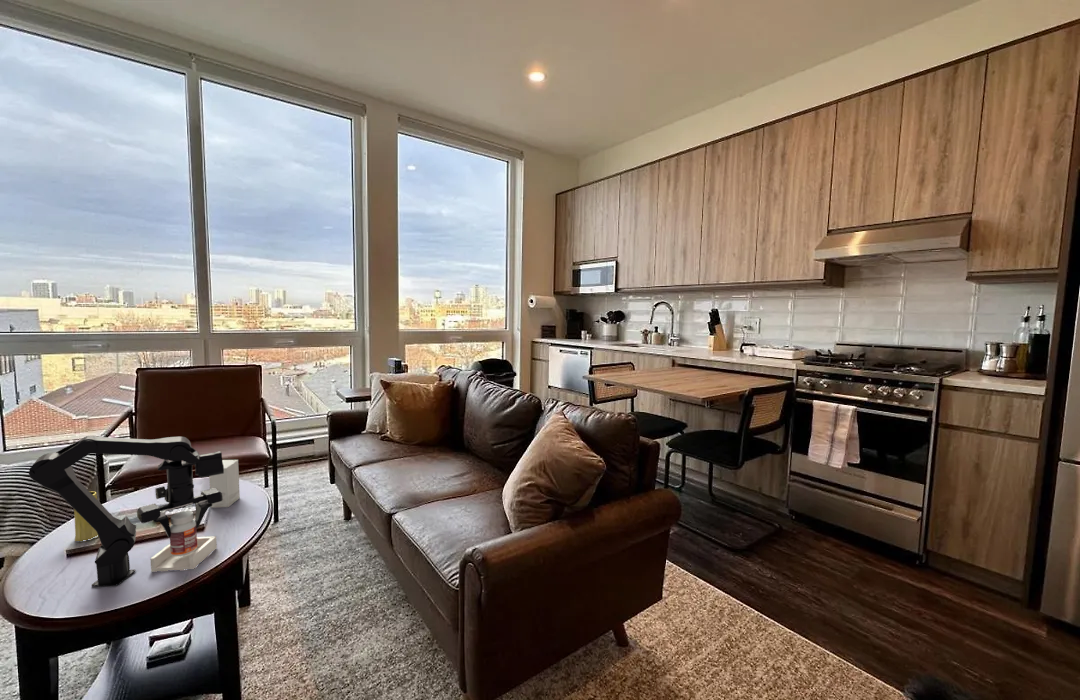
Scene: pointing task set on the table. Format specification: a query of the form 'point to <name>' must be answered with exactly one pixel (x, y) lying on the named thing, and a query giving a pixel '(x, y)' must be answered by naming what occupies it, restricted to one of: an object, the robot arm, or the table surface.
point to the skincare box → (226, 484)
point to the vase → (83, 526)
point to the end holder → (190, 561)
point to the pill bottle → (183, 534)
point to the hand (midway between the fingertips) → (183, 532)
